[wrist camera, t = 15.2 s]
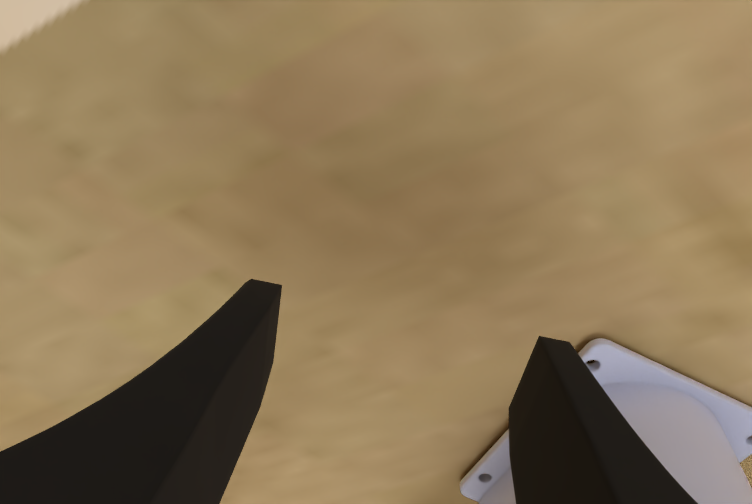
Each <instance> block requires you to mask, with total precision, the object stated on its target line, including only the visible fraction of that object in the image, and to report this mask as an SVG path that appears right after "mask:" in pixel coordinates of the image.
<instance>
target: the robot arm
mask: <svg viewBox="0 0 752 504" xmlns="http://www.w3.org/2000/svg"><path fill="white" fill-rule="evenodd" d="M281 289H282V285H279V284H274V283H269V282H264V281H259V280H254V279H251V280H249V281H247V282H246V283H245V284H244V285H243V286H242V287H241V288H240V289H239V290H238V291H237V292H236V293H235V294H234V295H233V296H232V297H231V298H230V299H229V300H228V301H227V302H226V303H225V304H224V305H223V306H222V307H221V308H220V309H219V310H217V311H216V312H215V313H214V314H213V315H212V316H211V317H210V318H209V319H208V320H207V321H205V322H204V323H203V324H202V325H201V326H200V327H198V328H197V329H196V330H195V331H194V332H193V333H192V334H190V335H189V336H188V337H187V338H186V339H185V340H183V341H182V342H181V343H180V344H179V345H177V346H176V347H175V348H173V349H172V350H171V351H169V352H168V353H167V354H166V355H164V356H163V357H162V358H160V359H159V360H158V361H156V362H155V363H154V364H153V365H151V366H150V367H149V368H147V369H146V370H144V371H143V372H142V373H140V374H139V375H137V376H136V377H134V378H133V379H131V380H130V381H129V382H127V383H126V384H124V385H123V386H121V387H119V388H118V389H116V390H115V391H113V392H112V393H110V394H109V395H107V396H105V397H104V398H102V399H100V400H99V401H97V402H95V403H94V404H92V405H90V406H88V407H87V408H85V409H83V410H82V411H80V412H78V413H76V414H75V415H73V416H71V417H69V418H68V419H66V420H64V421H62V422H60V423H58V424H57V425H55V426H53V427H51V428H49V429H47V430H45V431H43V432H41V433H39V434H37V435H35V436H33V437H30V438H28V439H26V440H24V441H22V442H20V443H18V444H16V445H14V446H12V447H10V448H7V449H5V450H3V451H1V452H0V504H219V503H220V501H221V498H222V496H223V494H224V491H225V489H226V487H227V484H228V482H229V480H230V477H231V475H232V473H233V470H234V468H235V465H236V463H237V461H238V458H239V456H240V454H241V451H242V449H243V447H244V444H245V442H246V439H247V437H248V435H249V432H250V430H251V428H252V425H253V423H254V420H255V418H256V416H257V413H258V411H259V408H260V405H261V402H262V399H263V395H264V392H265V389H266V385H267V382H268V378H269V375H270V371H271V368H272V364H273V359H274V350H275V342H276V333H277V324H278V315H279V307H280V298H281ZM589 360H597V361H595V362H594V363H590V364H588V363H586V362H588V361H589ZM751 454H752V407H750V406H748V405H746V404H744V403H741V402H739V401H737V400H735V399H733V398H731V397H729V396H727V395H725V394H722V393H720V392H718V391H716V390H714V389H712V388H710V387H708V386H705V385H703V384H701V383H699V382H697V381H695V380H693V379H691V378H688V377H686V376H684V375H682V374H680V373H678V372H676V371H674V370H671V369H669V368H667V367H665V366H663V365H661V364H659V363H657V362H654V361H652V360H650V359H648V358H646V357H644V356H642V355H640V354H637V353H635V352H633V351H631V350H629V349H627V348H625V347H623V346H620V345H618V344H616V343H614V342H612V341H610V340H607V339H604V338H598V339H594V340H591V341H590V342H589V343H587V344H586V345H585V346H584V348H583V349H582V350H581V351H580V352H579V353H577V352H576V350H575V349H574V347H573V346H572V345H571V344H570V342H566V341H561V340H556V339H551V338H546V337H541V336H539V337H538V340H537V342H536V345H535V347H534V349H533V352H532V354H531V356H530V359H529V361H528V364H527V366H526V368H525V371H524V373H523V376H522V378H521V380H520V383H519V385H518V388H517V390H516V392H515V395H514V397H513V399H512V402H511V404H510V407H509V429H508V430H507V431H506V432H505V433H504V434H503V435H502V436H501V438H500V439H499V440H498V441H497V442H496V443H495V444H494V445H493V446H492V447H491V448H490V449H489V451H488V452H487V453H486V454H485V455H484V456H483V457H482V458H481V459H480V460H479V461H478V462H477V464H476V465H475V466H474V467H473V468H472V469H471V470H470V471H469V472H468V473H467V474H466V475H465V477H464V478H463V479H462V480H461V482H460V492H461V493H462V495H464V496H465V497H467V498H470V499H472V500H475V501H477V502H479V504H752V487H751V485H750V483H749V481H748V479H747V477H746V475H745V473H744V471H743V469H742V467H741V465H740V462H742V461H743V460H744V459H746V458H747V457H748V456H749V455H751Z"/></svg>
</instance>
